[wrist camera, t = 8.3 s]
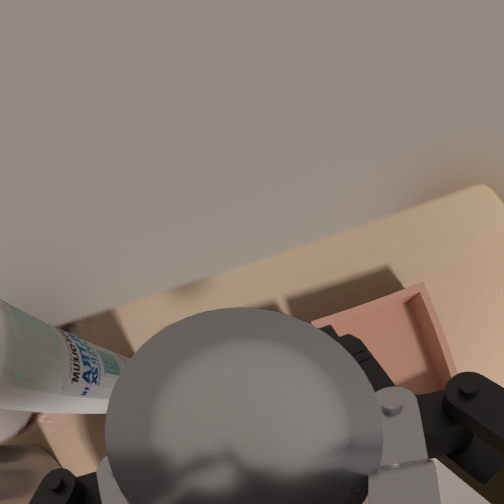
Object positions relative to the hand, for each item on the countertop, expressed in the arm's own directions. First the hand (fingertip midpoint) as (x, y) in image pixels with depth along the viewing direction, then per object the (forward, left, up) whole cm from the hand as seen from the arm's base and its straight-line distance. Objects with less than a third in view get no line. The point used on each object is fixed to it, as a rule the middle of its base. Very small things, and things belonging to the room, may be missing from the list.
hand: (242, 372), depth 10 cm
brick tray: (+12, -2, -20) cm, 23 cm away
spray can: (-14, +3, -20) cm, 25 cm away
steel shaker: (0, -2, -5) cm, 5 cm away
